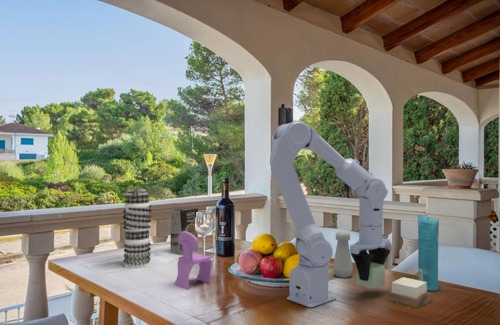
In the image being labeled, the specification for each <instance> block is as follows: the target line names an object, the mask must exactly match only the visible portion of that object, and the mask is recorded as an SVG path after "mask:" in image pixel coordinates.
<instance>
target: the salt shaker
mask: <svg viewBox="0 0 500 325" xmlns="http://www.w3.org/2000/svg"><path fill="white" fill-rule="evenodd" d="M335 240H336V242H337V243H336V247H335V248H336V249H335V254H334V260H333V264H332V271H333V272H334V275H335V277H337V278H340V279H343V278H345V279H347V278H350V277H351V276H352V273H353V270H354V267H353V261H352V256H351V253H350V245H349V241H351V234H350V232H347V231H337V232H336V233H335Z"/></svg>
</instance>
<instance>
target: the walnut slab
mask: <svg viewBox="0 0 500 325" xmlns="http://www.w3.org/2000/svg"><path fill="white" fill-rule="evenodd" d="M388 298H389V299H388V300H390V302H393V301H394V302H393V303H396V302H397V303H398V304H400V303H401V304H400V305H403V304H405V305H404V306H406V305H408V306H407V307H410V306H411V308H413V307H414V308H413V309H417V308H420V306H421V307H423V306H425V305H427V304H429V303H431V302H432V293H431V292H429V291H427V292H426V293H425V294H423V295H421V296H420V297H418V298H412V297H408V296H404V295H400V294H395V293H392V290H391V291H390V292H388ZM397 303H396V304H397ZM424 304H425V305H424ZM422 305H423V306H422Z"/></svg>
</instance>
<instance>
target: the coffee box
mask: <svg viewBox="0 0 500 325" xmlns="http://www.w3.org/2000/svg"><path fill="white" fill-rule="evenodd" d="M196 212H198V213H199V208H198V207H197V208H196V207H185V208H184V207H183V208H175V209H170V253H171V252H172V253H173V254H177V253H178V255H183V250H182V245H181V244H180V243H179V240H178V236H179V234H180V233H181V232H183V231H186V232H189V233H191V234H193V235H194V236H195V237H196V238H197V239H198V240H199V232H198V233H197V232H196V230H195V217H196ZM198 250H199V248H198V249H197V251H198ZM194 252H196V250H195V251H194Z"/></svg>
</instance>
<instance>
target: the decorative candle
mask: <svg viewBox="0 0 500 325" xmlns="http://www.w3.org/2000/svg"><path fill="white" fill-rule="evenodd" d="M124 196H125V197H124V199H125V202H124V208H125V209H123V211H122V214H123V216H122V218H123V220H124V221H123V222H122V223H123V225H124V226H123V231H125V238H124V244H123V247H124V249H123V251H124V254H123V257H124V259H123V262H124V264H123V266H124V265H125V266H127V267H141V268H144V267H143V266H146V265H149V264H150V263H151V259H152V258H151V255H152V253H151V252H150V250H152V247H150V246H151V245H152V244H151V242H150V230H151V225H149V223H151V222H152V220H151V219H150V218H152V215H150V214H149V213H151V212H152V210H153V209H151V207H152V205H150V192H148V191H147V189H145V188H129V189H127V191H126V192H125V193H124ZM150 265H151V264H150ZM150 265H149V266H150ZM125 266H124V267H125ZM127 267H126V268H127ZM146 267H147V266H146Z"/></svg>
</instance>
